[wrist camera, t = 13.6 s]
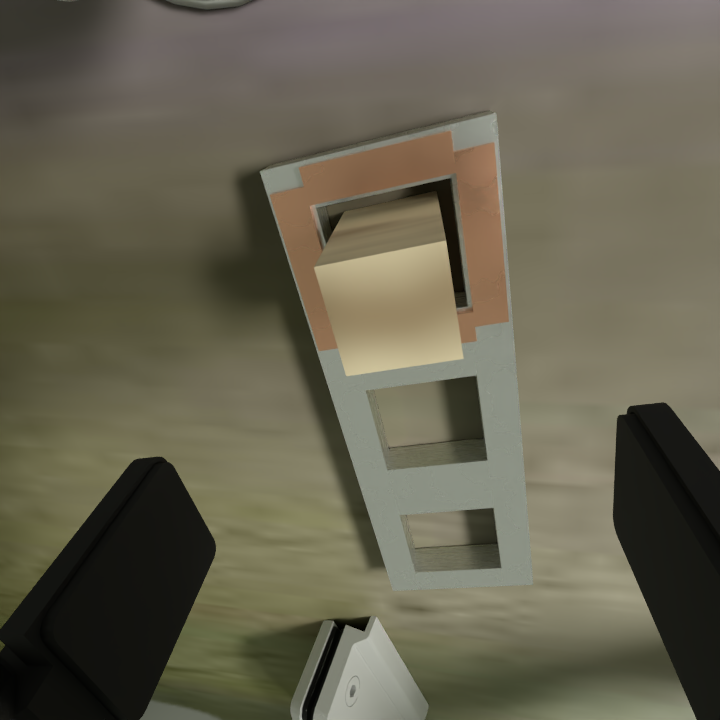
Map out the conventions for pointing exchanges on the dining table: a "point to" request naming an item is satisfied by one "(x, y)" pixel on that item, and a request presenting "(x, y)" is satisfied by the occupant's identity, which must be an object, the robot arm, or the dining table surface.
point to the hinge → (356, 678)
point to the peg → (390, 287)
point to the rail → (481, 359)
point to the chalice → (204, 3)
